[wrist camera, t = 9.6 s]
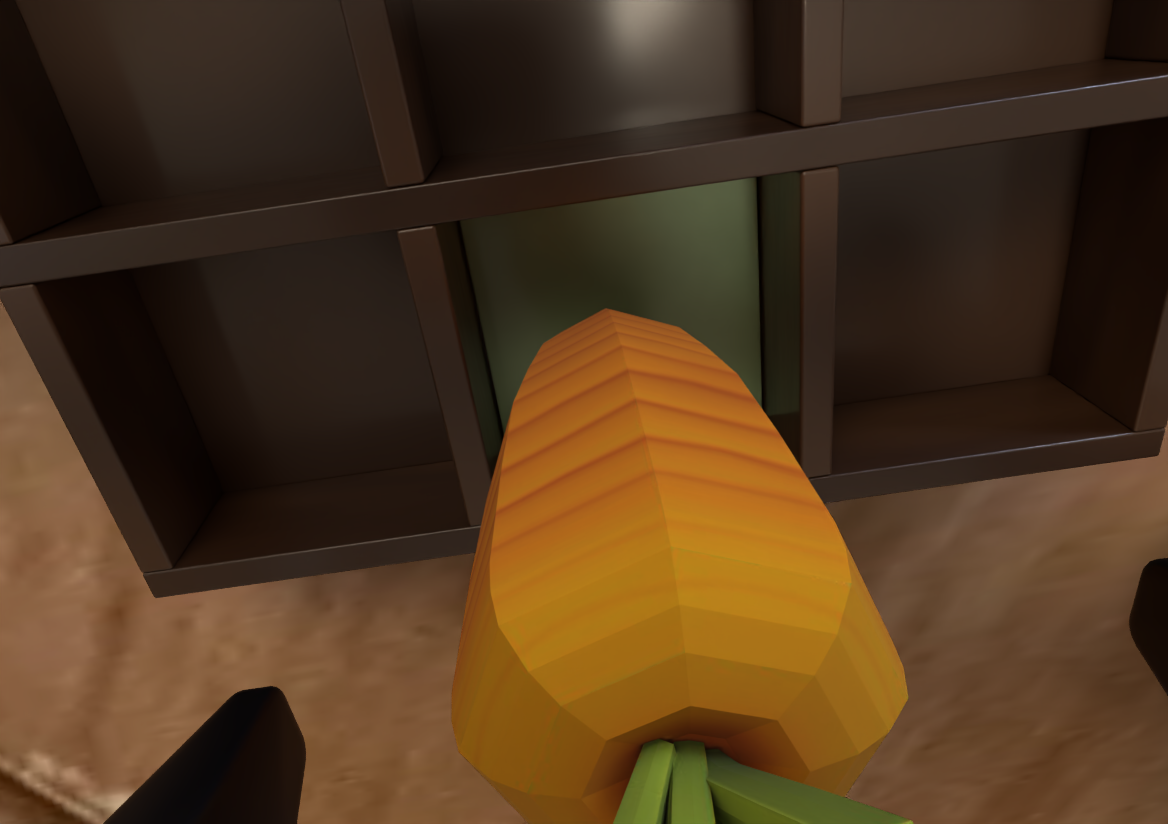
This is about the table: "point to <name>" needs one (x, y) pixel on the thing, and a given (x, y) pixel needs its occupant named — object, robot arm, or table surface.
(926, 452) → the wooden compartment organizer
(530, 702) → the carrot
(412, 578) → the table surface
